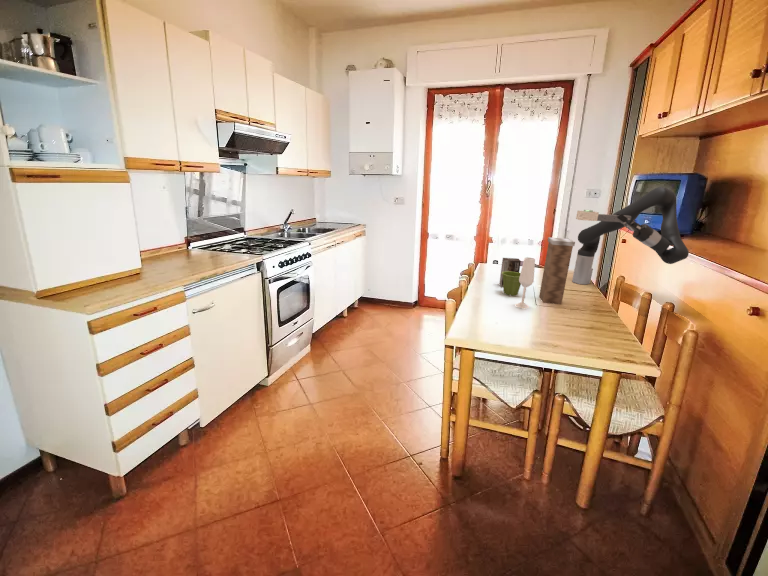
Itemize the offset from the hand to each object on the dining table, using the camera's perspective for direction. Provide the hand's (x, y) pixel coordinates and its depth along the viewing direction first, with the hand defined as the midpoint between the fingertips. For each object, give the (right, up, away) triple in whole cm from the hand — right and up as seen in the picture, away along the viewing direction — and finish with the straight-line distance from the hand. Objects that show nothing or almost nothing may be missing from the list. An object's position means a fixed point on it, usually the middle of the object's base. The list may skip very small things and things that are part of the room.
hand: (617, 215), depth 181 cm
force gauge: (-6, -2, +2) cm, 6 cm away
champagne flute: (-43, -44, +6) cm, 62 cm away
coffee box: (-40, -34, +39) cm, 65 cm away
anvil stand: (-25, -41, +17) cm, 51 cm away
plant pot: (-43, -38, +25) cm, 62 cm away
